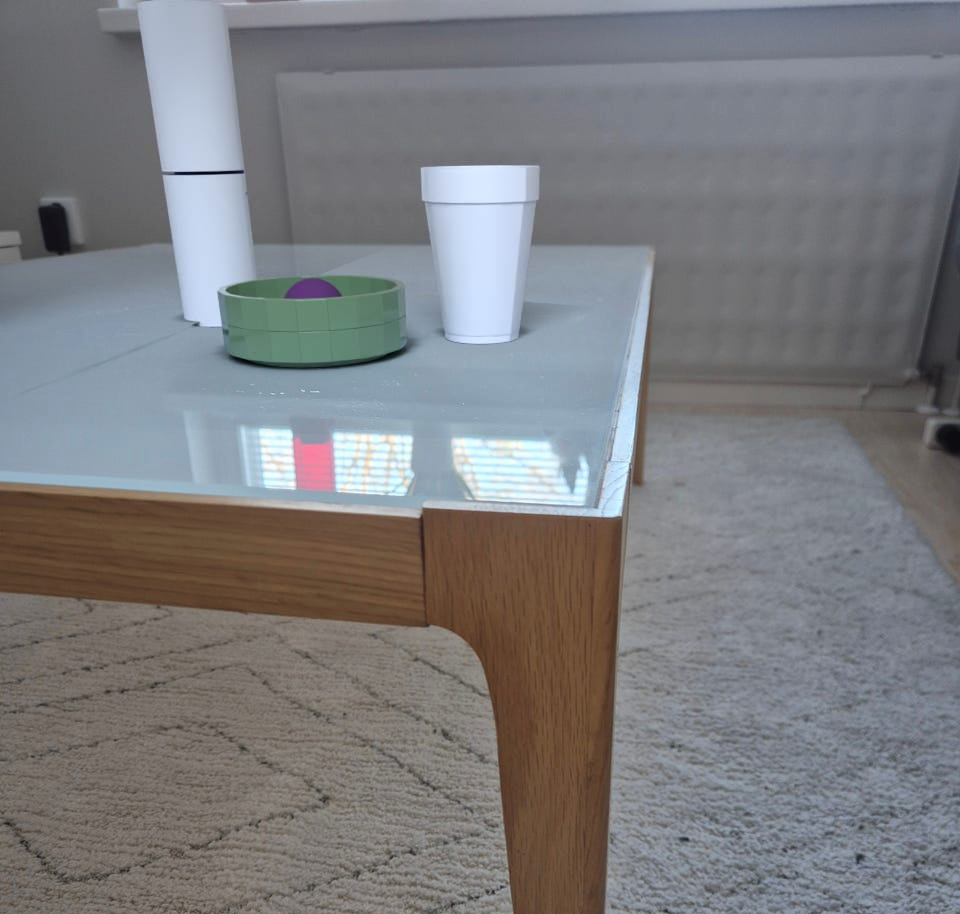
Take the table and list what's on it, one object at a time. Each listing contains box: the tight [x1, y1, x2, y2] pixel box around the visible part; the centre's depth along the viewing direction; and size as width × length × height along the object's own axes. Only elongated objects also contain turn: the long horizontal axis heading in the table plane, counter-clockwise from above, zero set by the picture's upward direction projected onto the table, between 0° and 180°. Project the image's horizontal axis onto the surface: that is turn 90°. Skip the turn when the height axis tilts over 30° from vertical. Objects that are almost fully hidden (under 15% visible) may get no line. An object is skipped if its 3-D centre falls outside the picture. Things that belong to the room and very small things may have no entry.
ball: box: [284, 278, 342, 299], centre depth 74 cm, size 5×5×5 cm
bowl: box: [217, 274, 408, 369], centre depth 74 cm, size 14×14×5 cm
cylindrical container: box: [136, 0, 258, 328], centre depth 84 cm, size 7×7×25 cm
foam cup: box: [420, 164, 541, 345], centre depth 77 cm, size 10×9×13 cm
